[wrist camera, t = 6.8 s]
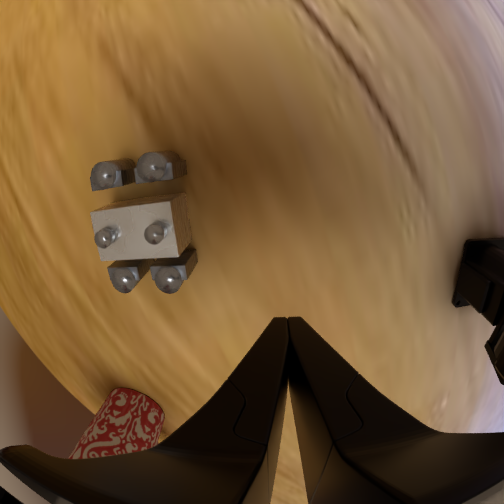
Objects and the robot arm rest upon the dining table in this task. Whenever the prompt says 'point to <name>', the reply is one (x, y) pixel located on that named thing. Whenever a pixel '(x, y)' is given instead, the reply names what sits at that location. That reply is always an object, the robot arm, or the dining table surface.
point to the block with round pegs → (142, 228)
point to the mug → (121, 426)
